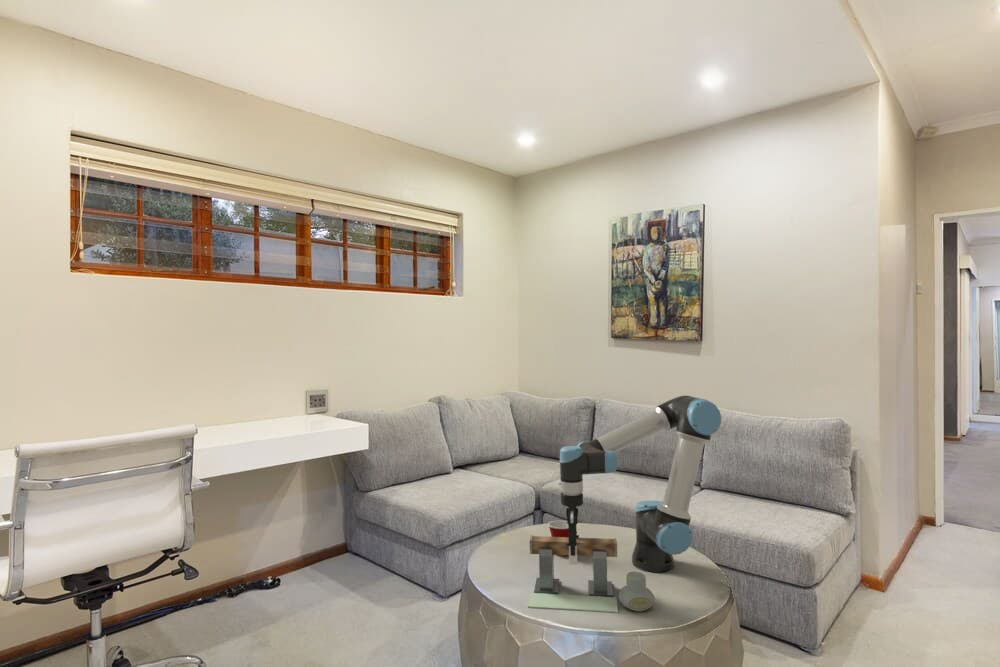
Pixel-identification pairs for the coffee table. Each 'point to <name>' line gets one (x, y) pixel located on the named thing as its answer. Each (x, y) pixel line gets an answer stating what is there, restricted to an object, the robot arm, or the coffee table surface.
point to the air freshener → (636, 593)
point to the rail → (583, 545)
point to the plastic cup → (559, 529)
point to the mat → (573, 602)
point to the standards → (595, 586)
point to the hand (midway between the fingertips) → (573, 560)
